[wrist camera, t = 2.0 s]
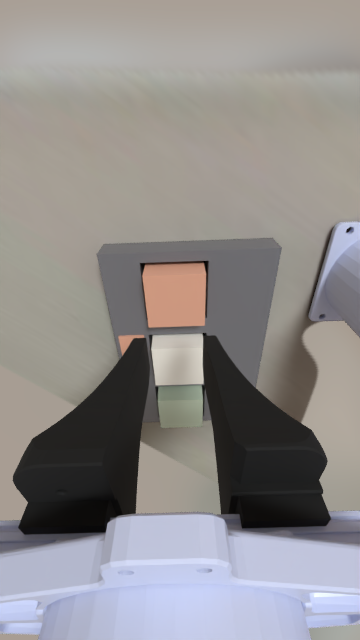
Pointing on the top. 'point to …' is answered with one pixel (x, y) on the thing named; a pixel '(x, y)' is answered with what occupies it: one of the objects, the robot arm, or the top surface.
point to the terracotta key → (175, 293)
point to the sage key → (180, 406)
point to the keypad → (220, 304)
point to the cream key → (178, 358)
